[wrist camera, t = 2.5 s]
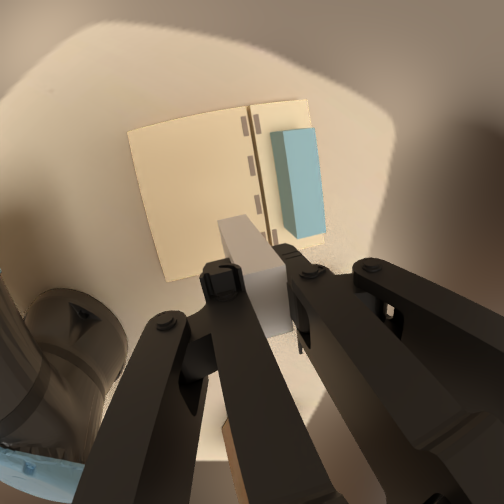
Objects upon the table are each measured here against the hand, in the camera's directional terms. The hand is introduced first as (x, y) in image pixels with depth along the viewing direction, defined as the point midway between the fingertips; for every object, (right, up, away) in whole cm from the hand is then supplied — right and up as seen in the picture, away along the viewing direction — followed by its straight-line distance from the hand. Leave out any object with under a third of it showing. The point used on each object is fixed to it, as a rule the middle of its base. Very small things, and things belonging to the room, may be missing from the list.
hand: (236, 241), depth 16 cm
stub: (+4, +8, +16) cm, 18 cm away
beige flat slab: (-5, +6, +15) cm, 17 cm away
